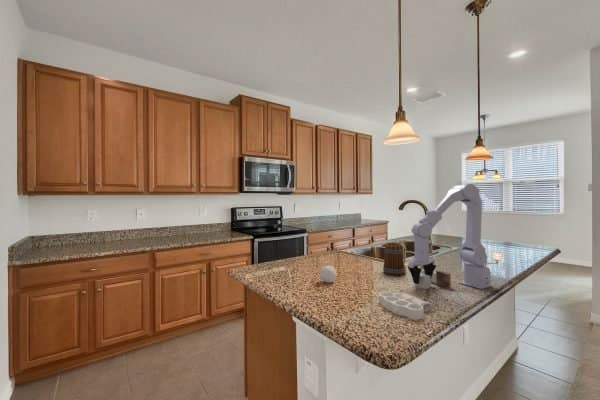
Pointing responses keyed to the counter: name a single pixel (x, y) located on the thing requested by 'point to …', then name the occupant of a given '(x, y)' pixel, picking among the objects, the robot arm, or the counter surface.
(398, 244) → the mug
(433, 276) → the door
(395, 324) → the counter surface
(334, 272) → the ball
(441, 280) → the wall
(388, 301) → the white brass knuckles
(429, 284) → the white small block
